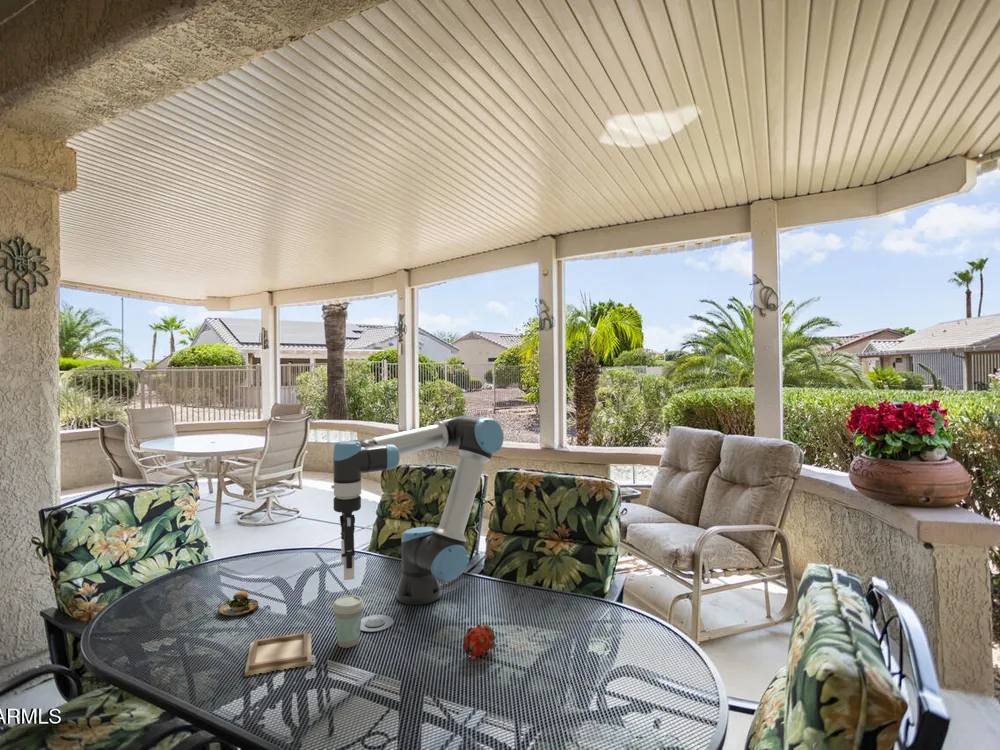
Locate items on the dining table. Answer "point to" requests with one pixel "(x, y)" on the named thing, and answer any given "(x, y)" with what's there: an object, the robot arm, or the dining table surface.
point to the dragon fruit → (479, 641)
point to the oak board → (279, 653)
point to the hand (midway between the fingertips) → (347, 570)
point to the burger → (239, 605)
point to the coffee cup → (348, 620)
